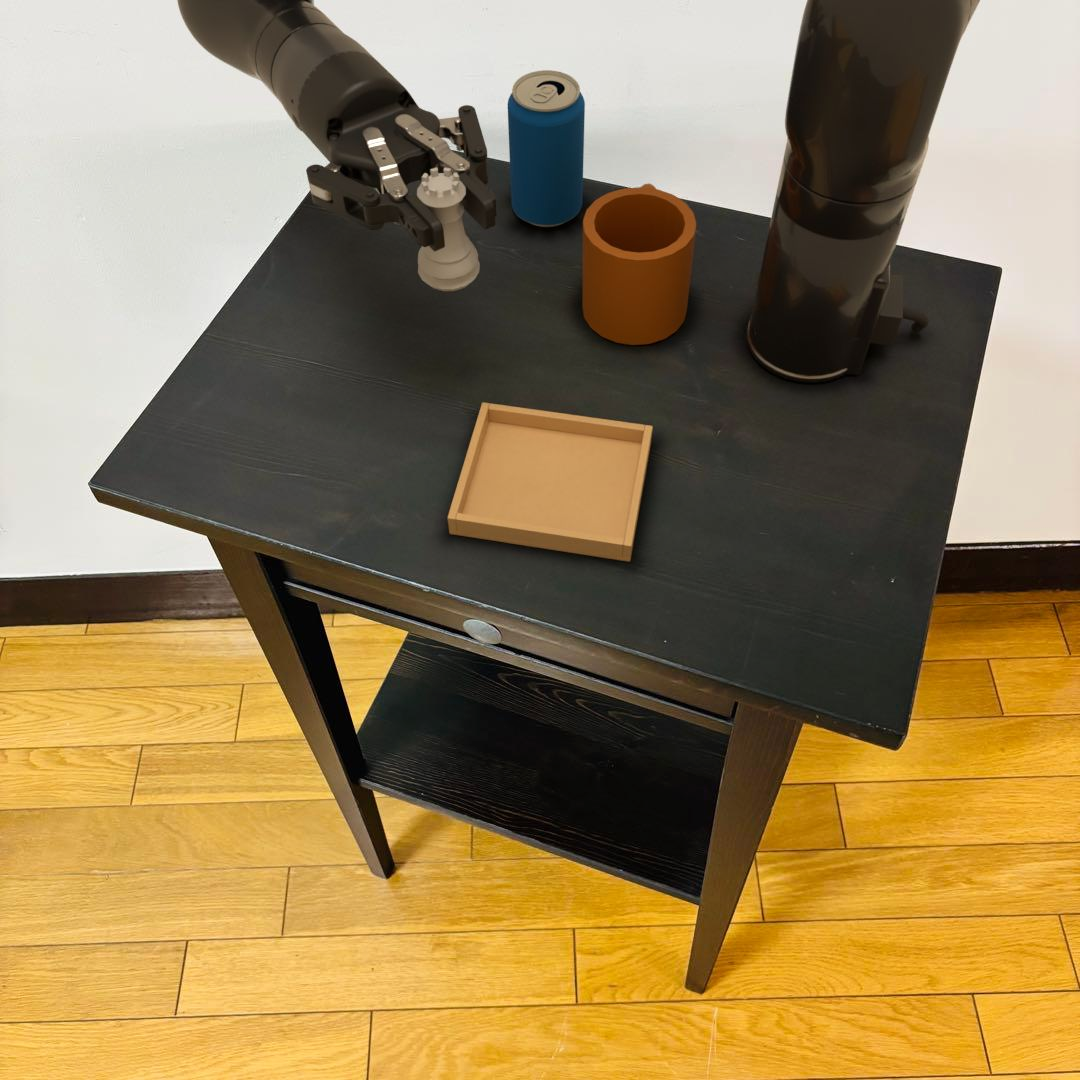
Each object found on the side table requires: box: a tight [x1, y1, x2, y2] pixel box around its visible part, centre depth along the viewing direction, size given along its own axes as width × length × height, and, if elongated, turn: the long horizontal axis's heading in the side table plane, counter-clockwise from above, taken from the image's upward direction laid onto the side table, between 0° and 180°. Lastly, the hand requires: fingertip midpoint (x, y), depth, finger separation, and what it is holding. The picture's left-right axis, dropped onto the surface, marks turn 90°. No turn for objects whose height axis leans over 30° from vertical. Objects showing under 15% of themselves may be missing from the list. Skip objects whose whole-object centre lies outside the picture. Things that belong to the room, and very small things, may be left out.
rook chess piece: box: [416, 168, 481, 292], centre depth 73 cm, size 4×4×8 cm
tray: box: [446, 401, 654, 563], centre depth 78 cm, size 13×11×2 cm
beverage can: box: [507, 69, 586, 228], centre depth 93 cm, size 6×6×12 cm
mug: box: [581, 183, 697, 346], centre depth 87 cm, size 9×12×9 cm
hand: (464, 227), depth 70 cm, fingers closed on rook chess piece, 3 cm apart
